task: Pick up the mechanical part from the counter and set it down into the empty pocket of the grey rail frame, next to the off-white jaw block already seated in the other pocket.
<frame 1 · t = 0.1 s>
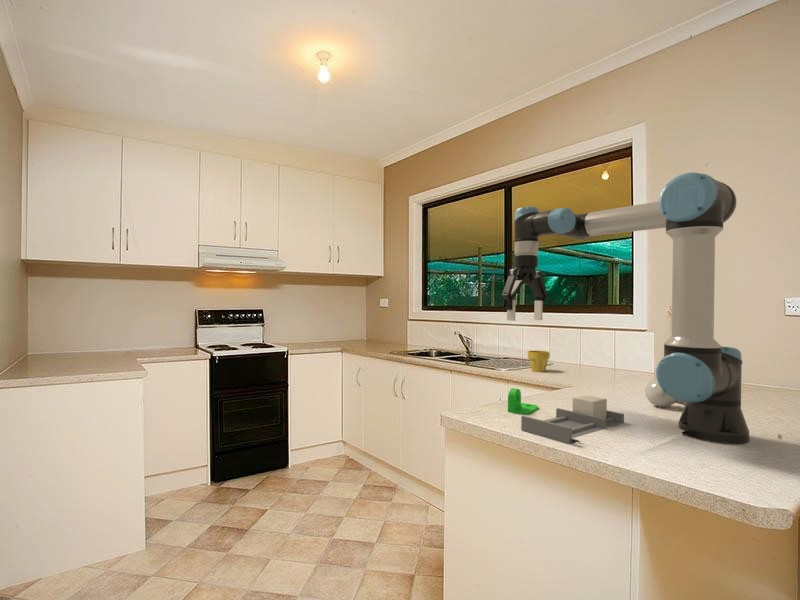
hand: (525, 320, 149), 28 cm above the worktop, tool pointing down, fingers open, 13 cm apart
jaw block: (589, 420, 126), point 1 cm above the worktop, touching grey rail frame
potion bottle: (671, 408, 149), on the worktop
grey rail frame: (573, 428, 122), on the worktop
mechanical part: (524, 414, 138), on the worktop
plant pot: (538, 371, 226), on the worktop
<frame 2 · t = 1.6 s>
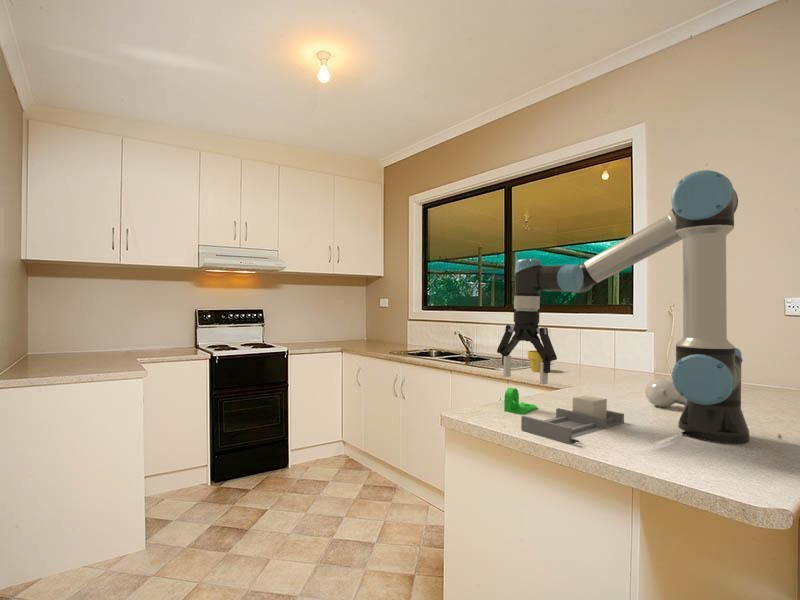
hand: (524, 380, 138), 10 cm above the worktop, tool pointing down, fingers open, 13 cm apart
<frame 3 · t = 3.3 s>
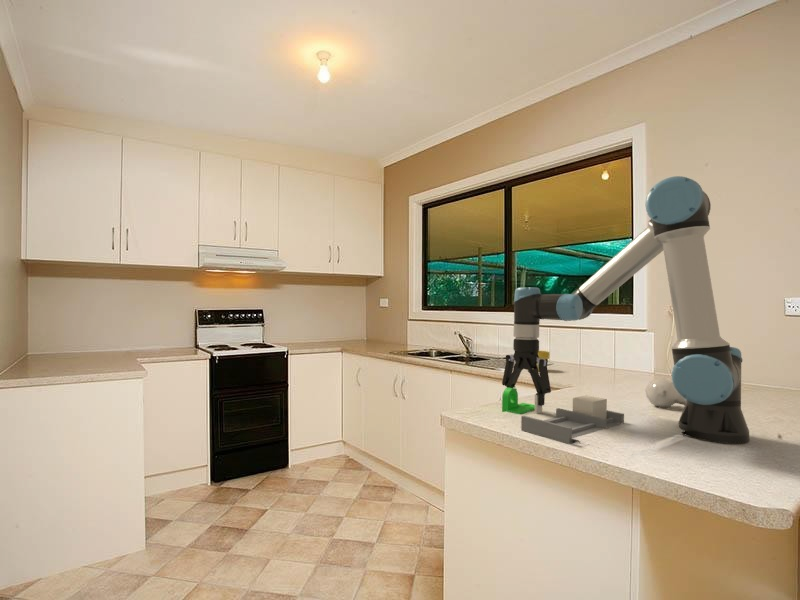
hand: (525, 412, 138), 0 cm above the worktop, tool pointing down, fingers open, 9 cm apart
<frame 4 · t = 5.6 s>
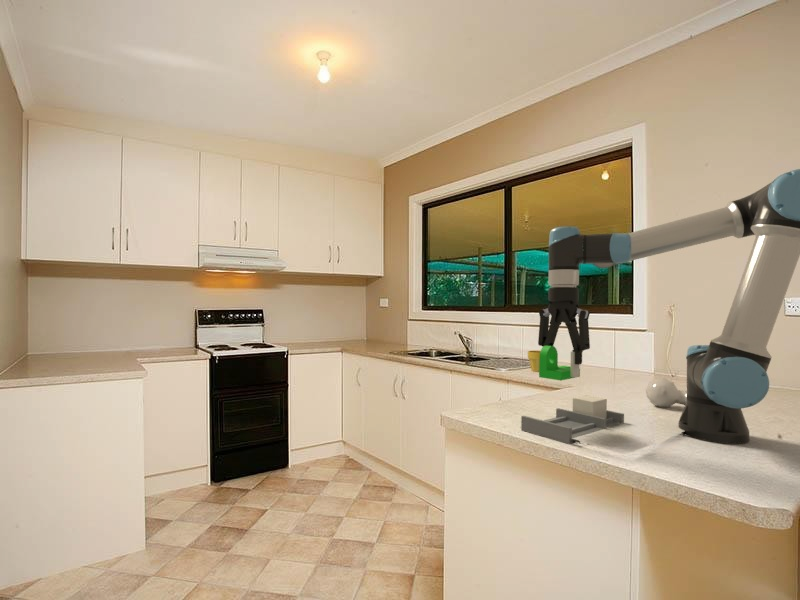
hand: (562, 374, 119), 15 cm above the worktop, tool pointing down, fingers closed on mechanical part, 6 cm apart
mechanical part: (561, 377, 119), point 14 cm above the worktop, touching gripper
everything else where it was.
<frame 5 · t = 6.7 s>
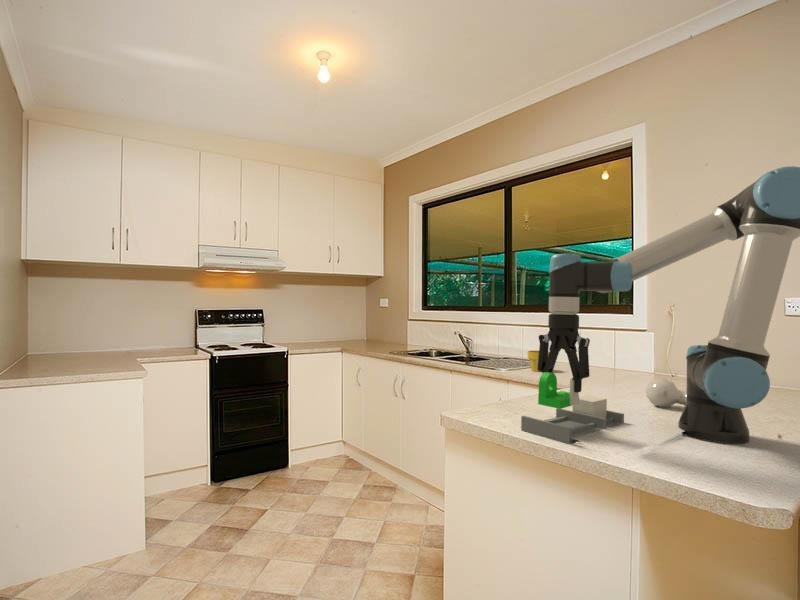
hand: (561, 401, 119), 8 cm above the worktop, tool pointing down, fingers closed on mechanical part, 6 cm apart
mechanical part: (560, 404, 118), point 7 cm above the worktop, touching gripper
everything else where it was.
when the fingers open (3 cm above the worktop, at t = 7.7 s): mechanical part drops 2 cm, resting on grey rail frame.
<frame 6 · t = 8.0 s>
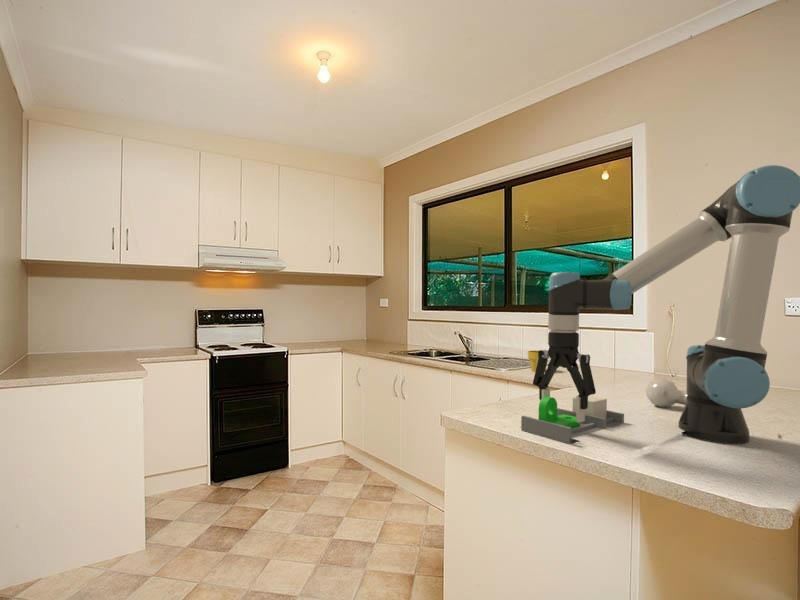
hand: (562, 417, 119), 4 cm above the worktop, tool pointing down, fingers open, 9 cm apart
mechanical part: (561, 428, 118), point 1 cm above the worktop, touching grey rail frame
everything else where it was.
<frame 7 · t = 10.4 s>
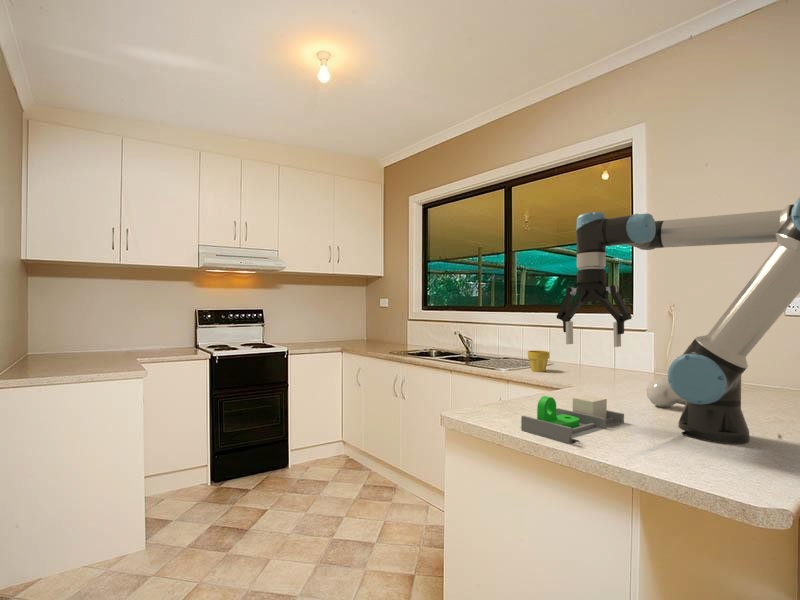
hand: (592, 345, 127), 22 cm above the worktop, tool pointing down, fingers open, 13 cm apart
nothing on the worktop moved.
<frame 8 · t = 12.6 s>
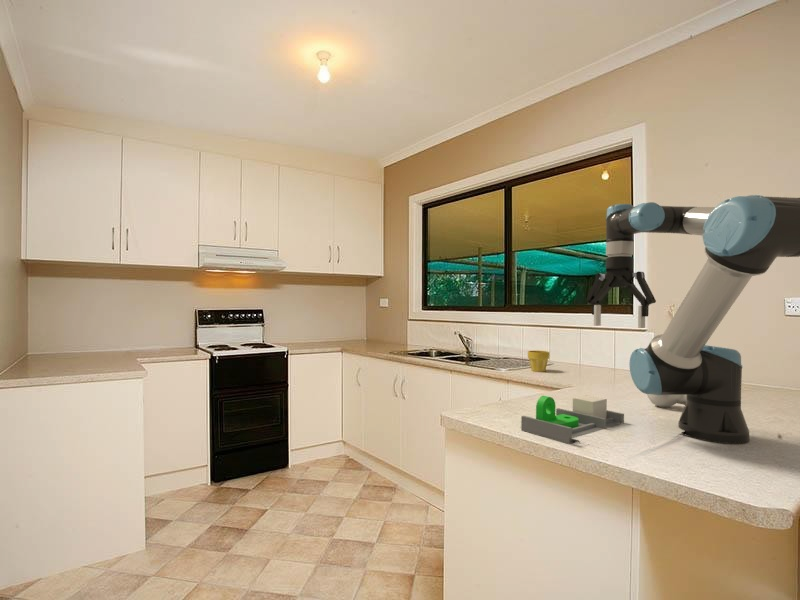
hand: (618, 326, 138), 27 cm above the worktop, tool pointing down, fingers open, 13 cm apart
nothing on the worktop moved.
at the end: mechanical part inside the target area (0.6 cm from its centre), point 1.0 cm above the worktop; mechanical part tilted 0°; the gripper is holding nothing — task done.
